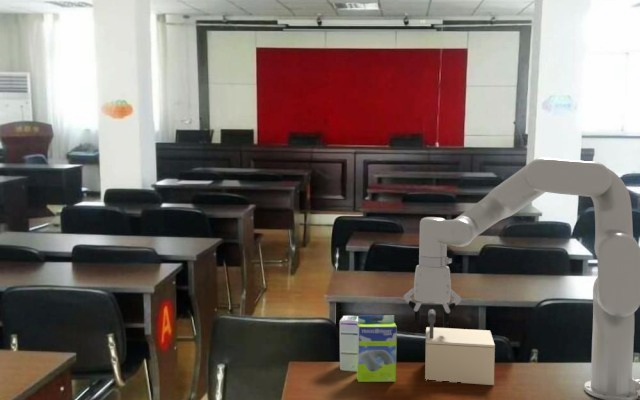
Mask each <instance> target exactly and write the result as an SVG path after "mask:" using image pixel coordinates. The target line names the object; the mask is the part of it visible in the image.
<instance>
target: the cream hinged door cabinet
mask: <svg viewBox="0 0 640 400" xmlns="http://www.w3.org/2000/svg"><path fill="white" fill-rule="evenodd" d="M495 349H496V346H495V347H480V346H463V345H446V344H428V343H426V342H425V359H424V360H425V362H424V363H425V366H424V369H425V370H424V374H425V375H424V380H425V379H426V380H425V381H427V379H429V380H436V381H435V382H442V381H449V382H448V383H457V382H461V383H460V384H472V385H473V384H475V385H486V386H487V385H488V386H494V385H495V358H496V356H495V354H496V353H495V352H496V350H495Z"/></svg>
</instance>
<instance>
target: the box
mask: <svg viewBox="0 0 640 400" xmlns="http://www.w3.org/2000/svg"><path fill="white" fill-rule="evenodd" d="M357 316H358V324H357V330H358V340H357V371H356V380H357V382H358V383H362V382H363V383H372V382H373V383H376V382H378V383H379V382H383V383H384V382H394V383H395V382H396V381H397V380H396V378H397V377H396V376H397V345H398V344H397V342H398V341H397V339H398V337H397V336H398V335H397V334H398V333H397V331H398V329H397V328H398V327H397V325H396V323H395V315H393V314H390V315H389V314H388V315H387V314H386V315H385V314H384V315H380V314H378V315H376V314H375V315H373V314H372V315H371V314H370V315H357ZM376 318H377V319H381V320H372V319H376Z"/></svg>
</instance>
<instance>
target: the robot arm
mask: <svg viewBox="0 0 640 400" xmlns="http://www.w3.org/2000/svg"><path fill="white" fill-rule="evenodd" d="M545 193H549V194H556V195H557V194H558V195H567V196H568V195H569V196H580V197H588V198H589V197H590V198H591V200H592V203H593V207H594V222H595V223H594V224H595V225H594V227H595V228H594V230H595V237H594V247H593V248H594V253H595V254H594V255H595V256H596V259H597V277H596V278H595V280H594V283H593V286H592V302H593V303H592V306H593V307H592V308H593V309H592V314H593V315H592V317H593V318H592V334H591V335H592V337H591V338H592V339H591V365H590V366H591V368H590V380H588V381H586V382H585V383H584V384H583V389H584V391H585V392H586V393H587V394H589V395H590V396H592V397H593V398H598V399H601V400H637V399H638V398H639V391H640V378H639V379H635V378H634V377H633V364H634V363H633V362H634V358H633V357H634V342H635V341H634V340H635V338H634V337H635V312H636V311H637V310H638V308H639V307H640V245H639V243H638V242H637V240H636V239H635V238H634V231H633V229H634V228H633V225H634V224H633V208H632V201H631V196H630V192H629V190H628V188H627V186H626V185H625V183H624V181H623V180H622V178H620V176H619V175H618V174H617V173H615V172H614V171H613V170H611V169H610V168H608V167H607V166H606V165H605V164H602V163H600V162H597V161H593V160H591V161H584V160H569V159H559V158H551V157H537V158H535V159H533V160H532V161H530V162H529V163H527V164H526V165H525V166H523V167H521V169H519V170H518V171H517V172H515V173H514V174H512V175H511V176H509V177H508V178H506V179H505V180H504V181H503V182H501V183H499V185H498V184H497V186H495V187H494V188H493V189H492V190H490V191H489V193H488V194H487V195H485V196H484V197H483V198H482V199H481V200H479V201H478V202H477V203H475V204H474V205H473V206H471V207H470V208H468V209H467V210H466V211H464V212H462V213H461V214H460V215H458V216H457V217H456V218H453V219H445V218H443V217H439V216H438V217H436V216H426V217H423V218H420V219H421V220H420V221H419V245H418V247H419V248H418V250H419V251H418V252H419V253H418V254H419V255H418V264H417V265H416V266H415V272H414V280H413V287H412V288H411V289H410V290H408V292H406V293H405V294H404V295H403V299H404V300H405V302H406V303H407V304H408V306H410V307H411V308H412V310H413V311H414V322H415V323H416V324H417V325H416V326H418V327H420V325H421V309H420V308H421V306H422V304H423V303H424V304H425V303H427V304H442V307H443V309H444V311H443V324H442V325H443V326H442V327H443V328H447V324H449V323H450V322H449V321H450V313H451V311H453V310H454V309H455V308H456V306H457V305H458V304H460V303H461V301H462V298H461V296H459V295H458V294H457V293H456V292H455V291H454V290H453V289H452V282H451V281H452V279H451V270H450V267H449V266H448V265H449V264H452V263H453V258H451V257H448V255H447V253H448V252H447V251H448V246H453V247H467V246H468V245H469V244H471V243H472V242H473V240H474V239H475V238H476V237H477V236H479V235H481V234H482V233H484V232H485V231H486V230H488V229H489V228H491V227H492V226H494V225H495V224H497V223H498V222H500V221H501V220H503V219H507V218H508V217H509V218H510V217H511V216H514V215H515V214H516V213H519V211H520V210H522V209H523V208H525V207H527V205H529V204H530V203H532V202H533V201H534V200H536V199H538V198H539V197H540V196H542V195H544V194H545ZM412 296H413V299H414V300H412V299H411V297H412ZM451 297H452V298H453V301H452V302H451ZM414 301H415V302H414ZM450 302H451V303H450ZM449 303H450V304H449Z"/></svg>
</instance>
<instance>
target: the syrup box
mask: <svg viewBox="0 0 640 400" xmlns="http://www.w3.org/2000/svg"><path fill="white" fill-rule="evenodd" d="M358 316H359V315H342V317H341V318H340V320H339V369H340V371H345V372H357V340H358V330H357V324H358Z"/></svg>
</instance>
